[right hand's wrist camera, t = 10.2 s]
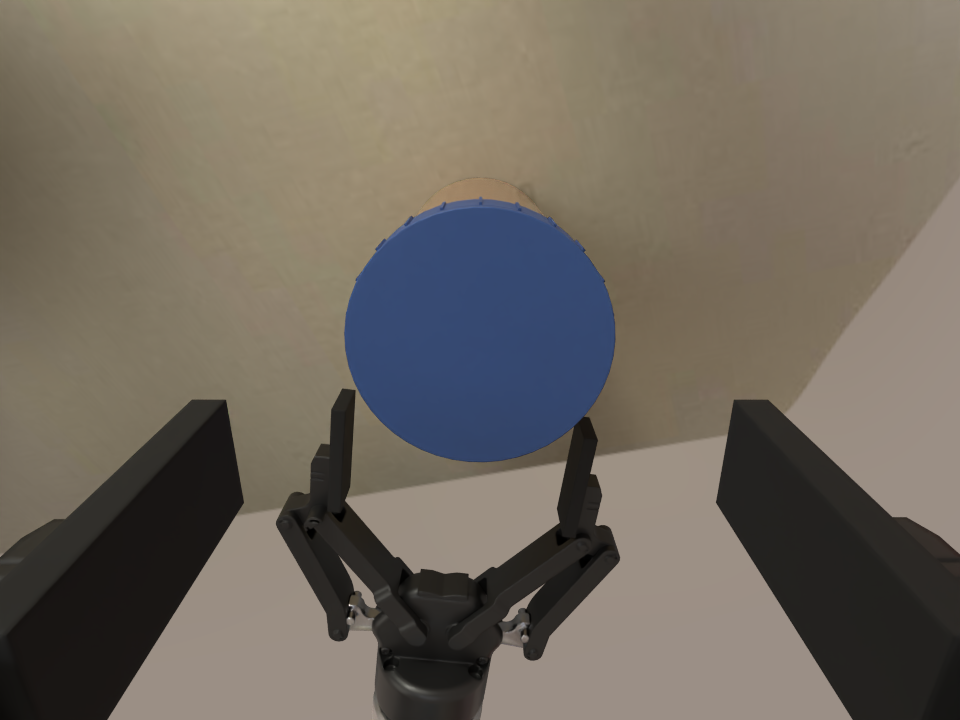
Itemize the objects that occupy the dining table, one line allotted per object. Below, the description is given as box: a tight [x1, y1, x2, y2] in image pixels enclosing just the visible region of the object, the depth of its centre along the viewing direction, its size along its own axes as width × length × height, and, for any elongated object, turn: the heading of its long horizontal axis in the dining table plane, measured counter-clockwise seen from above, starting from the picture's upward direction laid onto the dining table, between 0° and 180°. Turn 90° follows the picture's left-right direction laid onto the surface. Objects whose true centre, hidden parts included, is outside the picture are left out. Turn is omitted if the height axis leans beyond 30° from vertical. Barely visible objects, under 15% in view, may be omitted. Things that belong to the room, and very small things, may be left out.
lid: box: [344, 197, 615, 462], centre depth 21 cm, size 9×9×2 cm
